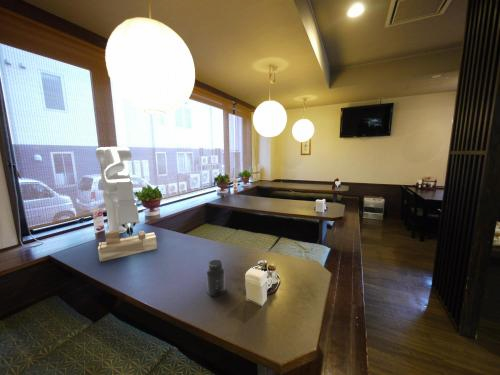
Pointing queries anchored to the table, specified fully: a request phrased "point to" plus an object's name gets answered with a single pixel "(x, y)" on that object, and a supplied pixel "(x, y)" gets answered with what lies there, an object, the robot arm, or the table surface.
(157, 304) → the table surface
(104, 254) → the light wooden long piece
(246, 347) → the table surface
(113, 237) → the lid
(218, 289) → the supplement bottle
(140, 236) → the brown wooden block
